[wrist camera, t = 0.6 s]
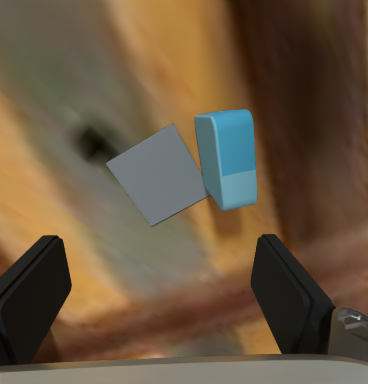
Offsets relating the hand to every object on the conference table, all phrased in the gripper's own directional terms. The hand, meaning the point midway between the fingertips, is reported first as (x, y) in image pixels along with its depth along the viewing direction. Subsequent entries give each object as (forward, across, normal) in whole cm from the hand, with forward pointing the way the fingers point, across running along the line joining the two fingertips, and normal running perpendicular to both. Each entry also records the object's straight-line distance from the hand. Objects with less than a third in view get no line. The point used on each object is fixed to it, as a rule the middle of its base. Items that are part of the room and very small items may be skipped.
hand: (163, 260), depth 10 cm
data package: (+28, -7, -1) cm, 29 cm away
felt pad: (+28, +1, +4) cm, 28 cm away
